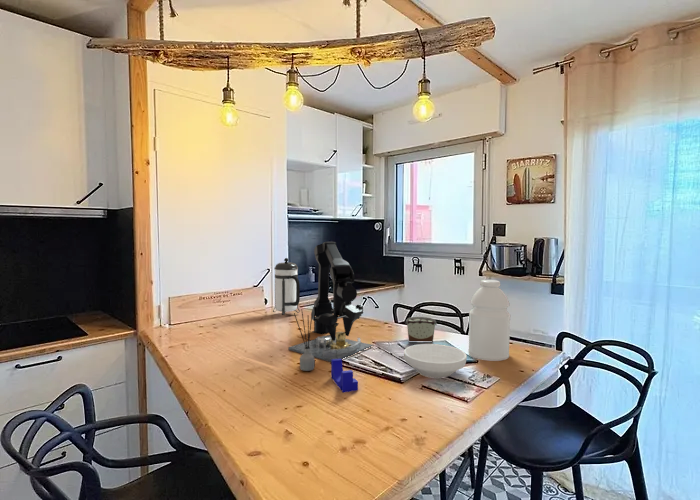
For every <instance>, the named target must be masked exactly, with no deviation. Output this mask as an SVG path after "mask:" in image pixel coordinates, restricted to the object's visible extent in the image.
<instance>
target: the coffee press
mask: <svg viewBox="0 0 700 500" xmlns="http://www.w3.org/2000/svg"><path fill="white" fill-rule="evenodd" d="M283 261H284V262H278V263H276V264H275V265H274V308H273V309H272V312H273V313H276V312H281V315H282V316H285V315H286V313H287V312H296V313H297V314H299V313H300V312H301V309H300V308H299V307H298V306H299V305H300V297H301V296H300V292H301V290H300V280H299V277H298V276H299V274H298V270H299V267H298V265H297V264H296V263H294V262H289V258H288V257H286V258H284V260H283ZM297 310H298V311H297Z"/></svg>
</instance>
